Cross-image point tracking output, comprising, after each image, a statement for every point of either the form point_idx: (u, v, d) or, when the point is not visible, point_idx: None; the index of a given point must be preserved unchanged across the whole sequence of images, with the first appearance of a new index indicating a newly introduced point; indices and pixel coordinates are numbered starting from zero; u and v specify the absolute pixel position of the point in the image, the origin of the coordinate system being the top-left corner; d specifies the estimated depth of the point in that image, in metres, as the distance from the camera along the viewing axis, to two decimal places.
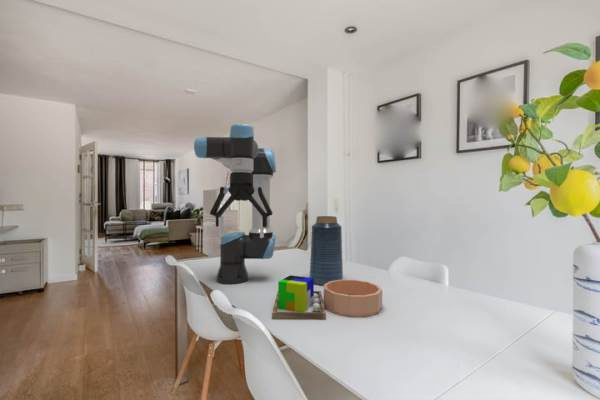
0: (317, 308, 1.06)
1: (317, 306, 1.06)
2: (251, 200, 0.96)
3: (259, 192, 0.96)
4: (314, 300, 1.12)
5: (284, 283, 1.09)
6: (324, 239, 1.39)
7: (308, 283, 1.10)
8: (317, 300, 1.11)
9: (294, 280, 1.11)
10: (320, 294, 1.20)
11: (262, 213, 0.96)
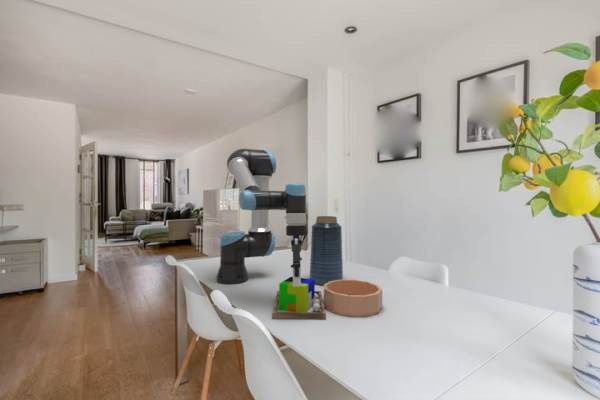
0: (317, 308, 1.06)
1: (317, 306, 1.06)
2: (292, 250, 1.07)
3: (292, 243, 1.05)
4: None
5: (285, 285, 1.07)
6: (324, 239, 1.39)
7: (309, 285, 1.09)
8: None
9: None
10: (320, 294, 1.20)
11: None
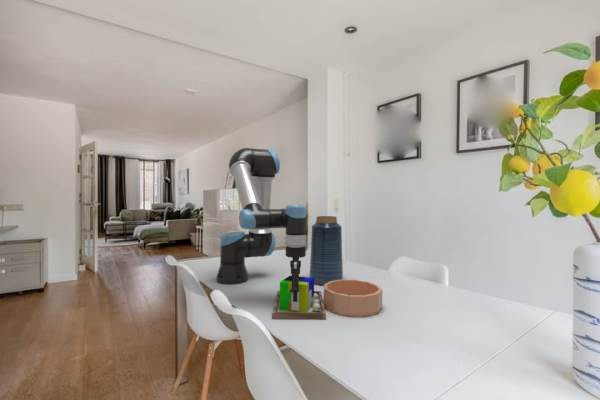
0: (317, 308, 1.06)
1: (317, 306, 1.06)
2: (291, 273, 1.08)
3: (291, 267, 1.06)
4: None
5: (286, 283, 1.08)
6: (324, 239, 1.39)
7: (310, 283, 1.09)
8: None
9: None
10: (320, 294, 1.20)
11: None
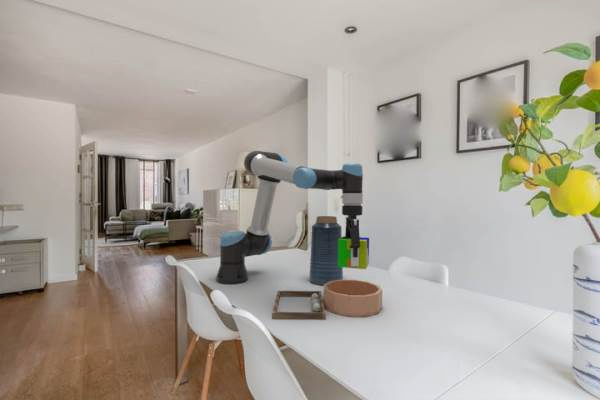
0: (317, 308, 1.06)
1: (317, 306, 1.06)
2: (349, 230, 1.09)
3: (351, 224, 1.07)
4: None
5: (344, 241, 1.09)
6: (324, 239, 1.39)
7: (367, 241, 1.10)
8: None
9: None
10: (320, 294, 1.20)
11: (351, 244, 1.06)
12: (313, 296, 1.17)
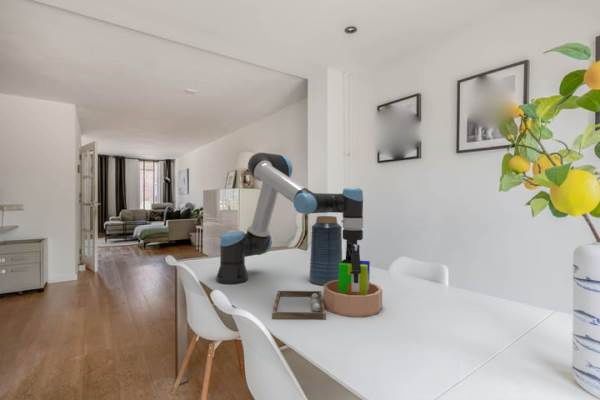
0: (317, 308, 1.06)
1: (317, 306, 1.06)
2: (350, 255, 1.09)
3: (352, 249, 1.07)
4: None
5: (345, 266, 1.09)
6: (324, 239, 1.39)
7: (368, 265, 1.11)
8: None
9: None
10: (320, 294, 1.20)
11: (352, 269, 1.06)
12: (313, 296, 1.17)
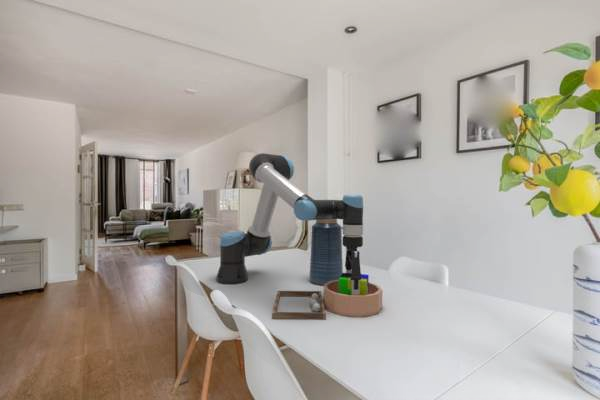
0: (317, 308, 1.06)
1: (317, 306, 1.06)
2: (350, 262, 1.09)
3: (352, 256, 1.07)
4: (312, 305, 1.10)
5: (345, 280, 1.09)
6: (324, 239, 1.39)
7: (367, 280, 1.11)
8: None
9: None
10: (320, 294, 1.20)
11: (352, 276, 1.06)
12: (313, 296, 1.17)
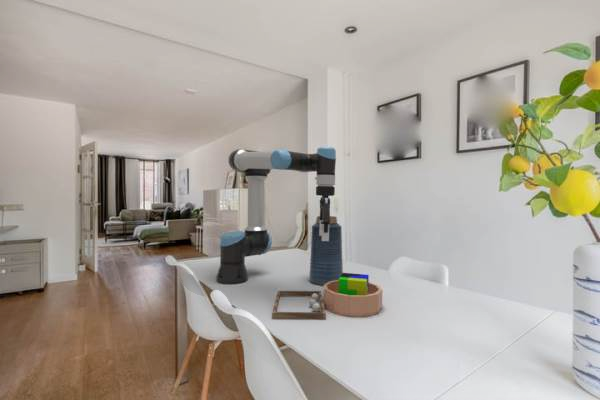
0: (317, 308, 1.06)
1: (317, 306, 1.06)
2: (321, 209, 1.17)
3: (323, 202, 1.15)
4: (312, 305, 1.10)
5: (345, 280, 1.09)
6: None
7: (367, 280, 1.11)
8: None
9: (353, 277, 1.11)
10: (320, 294, 1.20)
11: None
12: (313, 296, 1.17)
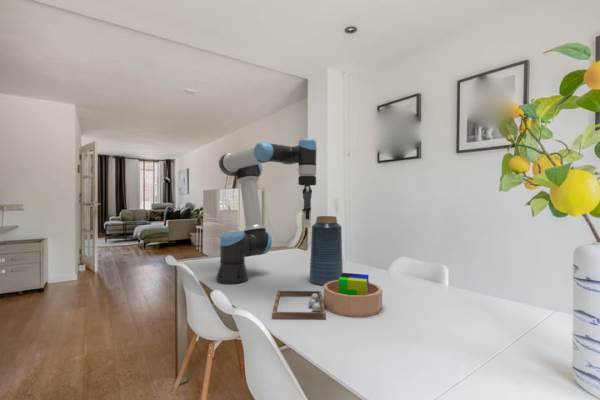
0: (317, 308, 1.06)
1: (317, 306, 1.06)
2: (303, 197, 1.23)
3: (304, 191, 1.21)
4: (311, 305, 1.10)
5: (345, 280, 1.09)
6: (324, 239, 1.39)
7: (367, 280, 1.11)
8: (313, 303, 1.10)
9: (353, 277, 1.11)
10: (320, 294, 1.20)
11: (304, 207, 1.20)
12: (313, 296, 1.17)
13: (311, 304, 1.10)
